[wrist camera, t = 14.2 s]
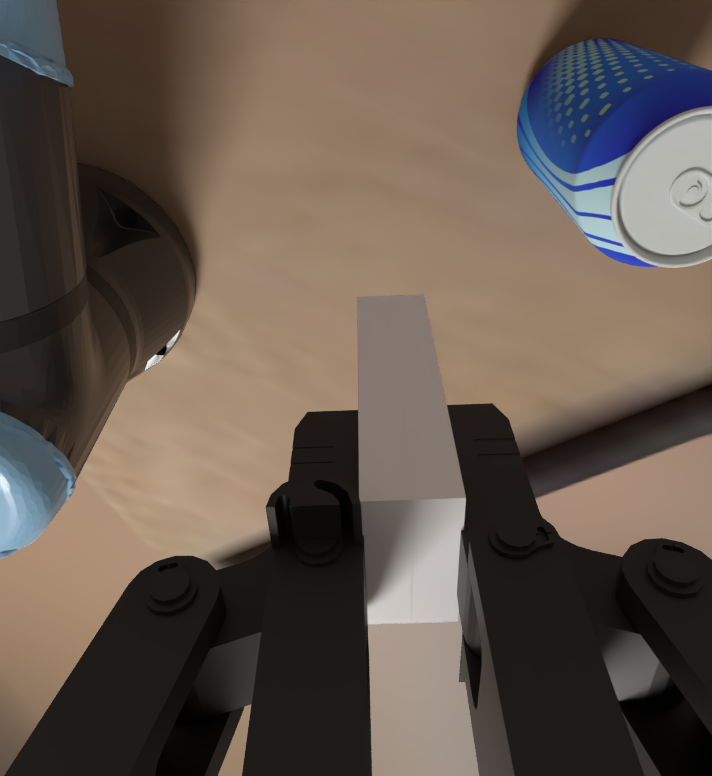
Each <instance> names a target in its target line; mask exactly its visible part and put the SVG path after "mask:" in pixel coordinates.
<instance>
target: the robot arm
mask: <svg viewBox="0 0 712 776" xmlns="http://www.w3.org/2000/svg"><path fill="white" fill-rule="evenodd" d="M70 87H74V81H73V76H72V74H71V72H70V71H69V70H68V69H67V68H66V62H65V55H64V49H63V42H62V35H61V28H60V21H59V15H58V8H57V1H56V0H0V559H1V558H4V557H6V556H9V555H11V554H13V553H15V552H16V551H17V550H18V549H20V548H23V547H25V546H28V545H30V544H31V543H33V542H34V541H35V540H36V539H37V538H38V537H39V536H40V535H41V534H42V533H43V532H44V531H45V529H46V528H47V527H48V525H49V524H50V522H51V521H52V519H53V518H54V517H55V515H56V514H57V513H58V511H59V510H60V509H61V507H62V506H63V504H64V503H66V502H67V500H68V499H69V498H70V496H71V495H72V493H73V490H74V489H75V482H76V479H77V478H78V476H79V474H80V472H81V470H82V468H83V466H84V464H85V462H86V460H87V458H88V456H89V454H90V452H91V450H92V448H93V447H94V445H95V443H96V441H97V439H98V437H99V435H100V433H101V431H102V429H103V427H104V425H105V423H106V421H107V419H108V417H109V415H110V413H111V412H112V410H113V408H114V406H115V404H116V402H117V400H118V398H119V396H120V394H121V392H122V390H123V388H124V386H125V385H126V383H127V382H128V381H130V380H131V379H133V378H134V377H136V376H138V375H139V374H141V373H142V372H144V371H145V370H147V369H149V368H150V367H152V366H153V365H155V364H156V363H158V362H159V361H160V360H161V359H163V358H164V357H165V356H166V355H167V354H168V353H169V351H170V350H171V349H172V348H173V347H174V345H175V344H176V343H177V341H178V340H179V338H180V336H181V334H182V332H183V330H184V328H185V326H186V324H187V322H188V319H189V317H190V314H191V312H192V308H193V304H194V299H195V274H194V268H193V264H192V260H191V257H190V254H189V251H188V249H187V246H186V244H185V242H184V240H183V238H182V236H181V234H180V232H179V231H178V229H177V228H176V226H175V225H174V223H173V222H172V221H171V219H170V218H169V217H168V215H167V214H166V213H165V212H164V211H163V210H162V209H161V208H160V207H159V206H158V205H157V204H156V203H155V202H154V201H153V200H152V199H151V198H150V197H149V196H147V195H146V194H145V193H144V192H142V191H141V190H140V189H138V188H137V187H135V186H134V185H132V184H131V183H129V182H127V181H126V180H124V179H122V178H120V177H118V176H116V175H114V174H111V173H109V172H107V171H104V170H101V169H98V168H95V167H91V166H87V165H82V164H77V159H76V148H75V138H74V127H73V117H72V106H71V96H70ZM357 328H358V410H349V411H321V412H307V414H306V415H305V416H304V418H303V419H302V420H301V421H300V423H299V424H298V425H297V427H296V428H295V432H294V440H293V451H292V456H291V467H290V472H289V480H288V482H286V483H284V484H282V485H281V486H280V487H279V488H278V489H277V490H275V491H274V492H273V493H272V494H271V496H270V498H269V501H268V503H267V505H266V512H267V519H268V525H269V531H270V537H271V543H272V545H271V546H270V547H269V548H268V549H267V550H266V551H264V552H262V553H261V554H259V555H258V556H256V557H255V558H252V559H250V560H247V561H245V562H242V563H240V564H236V565H233V566H230V567H226V568H223V569H220V570H215V569H214V568H213V566H212V565H211V564H210V563H209V562H208V561H205V560H203V559H200V558H197V557H194V556H173V557H170V558H166V559H163V560H159V561H157V562H155V563H153V564H152V565H150V566H149V567H147V568H145V569H144V570H142V571H140V573H139V574H138V575H137V576H136V577H135V578H134V579H133V580H132V581H131V582H130V583H129V585H128V586H127V588H126V589H125V591H124V592H123V594H122V595H121V597H120V599H119V600H118V602H117V603H116V605H115V606H114V608H113V609H112V611H111V612H110V614H109V615H108V617H107V618H106V620H105V621H104V623H103V625H102V626H101V628H100V629H99V631H98V632H97V634H96V635H95V637H94V639H93V640H92V642H91V643H90V645H89V646H88V648H87V649H86V651H85V652H84V654H83V655H82V657H81V658H80V660H79V662H78V663H77V665H76V666H75V668H74V669H73V671H72V672H71V674H70V675H69V677H68V678H67V680H66V681H65V683H64V685H63V686H62V688H61V689H60V691H59V693H58V694H57V695H56V697H55V698H54V700H53V701H52V703H51V705H50V706H49V708H48V709H47V711H46V712H45V714H44V716H43V717H42V719H41V720H40V721H39V723H38V725H37V726H36V728H35V729H34V731H33V732H32V734H31V735H30V737H29V739H28V740H27V742H26V743H25V745H24V746H23V748H22V749H21V751H20V752H19V754H18V755H17V757H16V758H15V760H14V762H13V763H12V765H11V766H10V768H9V769H8V771H7V772H6V774H5V775H4V776H218V773H219V771H220V768H221V766H222V763H223V761H224V758H225V756H226V753H227V751H228V748H229V746H230V743H231V740H232V738H233V735H234V733H235V730H236V728H237V725H238V722H239V720H240V717H241V715H242V712H243V710H244V706H247V705H250V704H252V705H251V714H250V721H249V728H248V736H247V743H246V751H245V758H244V765H243V773H242V776H372V760H371V719H370V679H369V648H368V624H397V623H432V622H457V621H458V609H459V612H460V617H461V624H462V630H463V634H462V647H461V661H460V674H459V682H466V689H467V696H468V703H469V709H470V715H471V723H472V729H473V736H474V743H475V749H476V756H477V762H478V769H479V776H712V560H711V559H710V558H709V557H707V556H706V555H705V554H704V553H702V552H701V551H699V550H697V549H695V548H693V547H691V546H689V545H686V544H684V543H682V542H677V541H673V540H668V539H662V538H661V539H644V540H642V541H640V542H638V543H636V544H633V545H631V546H630V547H629V549H628V550H627V552H626V553H625V554H624V556H623V557H620V556H615V555H611V554H606V553H601V552H597V551H592V550H589V549H586V548H582V547H578V546H576V545H574V544H572V543H570V542H568V541H566V540H564V539H562V538H561V537H560V536H559V535H558V533H557V531H556V529H555V528H554V526H552V525H551V524H550V523H549V522H547V521H546V520H545V519H543V518H542V516H541V514H540V512H539V509H538V506H537V503H536V500H535V497H534V494H533V491H532V488H531V485H530V482H529V479H528V476H527V473H526V470H525V467H524V464H523V461H522V458H521V457H520V452H519V449H518V446H517V443H516V441H515V437H514V434H513V431H512V428H511V425H510V422H509V419H508V418H507V417H506V416H505V415H504V414H503V413H502V412H501V411H500V410H499V409H497V408H496V407H495V406H494V405H493V404H465V405H447V403H446V398H445V393H444V389H443V384H442V379H441V374H440V369H439V364H438V359H437V355H436V350H435V345H434V340H433V335H432V330H431V325H430V321H429V316H428V311H427V306H426V301H425V296H424V295H399V296H374V297H357Z"/></svg>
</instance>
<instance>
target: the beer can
mask: <svg viewBox="0 0 712 776" xmlns="http://www.w3.org/2000/svg"><path fill="white" fill-rule="evenodd" d="M517 138H518V143H519V147H520V151H521V153H522V156H523V158H524V160H525V162H526V163H527V165H528V166H529V167H530V169H531V170H532V171H533V173H534V174H535V175H536V176H537V177H538V179H539V180H540V181H541V182H542V184H543V185H544V186H545V187H546V188H547V190H548V191H549V192H550V193H551V195H552V196H553V197H554V198H555V199H556V201H557V202H558V203H559V204H560V206H561V207H562V208H563V209H564V210H565V212H566V213H567V214H568V215H569V216H570V218H571V219H572V220H573V221H574V223H575V224H576V225H577V226H578V227H579V229H580V230H581V231H582V232H583V234H584V235H585V236H586V237H587V238H588V240H589V241H590V242H591V243H592V244H593V245H594V246H595V247H596V248H597V249H598V250H600V251H601V252H602V253H604V254H605V255H607V256H609V257H610V258H612V259H614V260H617V261H619V262H622V263H626V264H629V265H635V266H643V267H658V266H660V267H671V268H674V267H686V266H691V265H696V264H699V263H702V262H705V261H708V260H710V259H712V71H711V70H708V69H705V68H702V67H699V66H696V65H693V64H689V63H686V62H683V61H680V60H677V59H674V58H671V57H668V56H665V55H662V54H659V53H656V52H653V51H650V50H647V49H644V48H640V47H637V46H634V45H631V44H628V43H625V42H622V41H619V40H614V39H604V38H603V39H592V40H587V41H583V42H580V43H577V44H574V45H572V46H570V47H568V48H566V49H564V50H562V51H561V52H559V53H558V54H556V55H555V56H554V57H552V58H551V59H550V60H549V61H548V62H546V63H545V64H544V66H543V67H542V68H541V69H540V70H539V71H538V72H537V73H536V75H535V76H534V78H533V79H532V80H531V82H530V84H529V86H528V87H527V89H526V91H525V93H524V96H523V98H522V101H521V104H520V108H519V112H518V118H517Z"/></svg>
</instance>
